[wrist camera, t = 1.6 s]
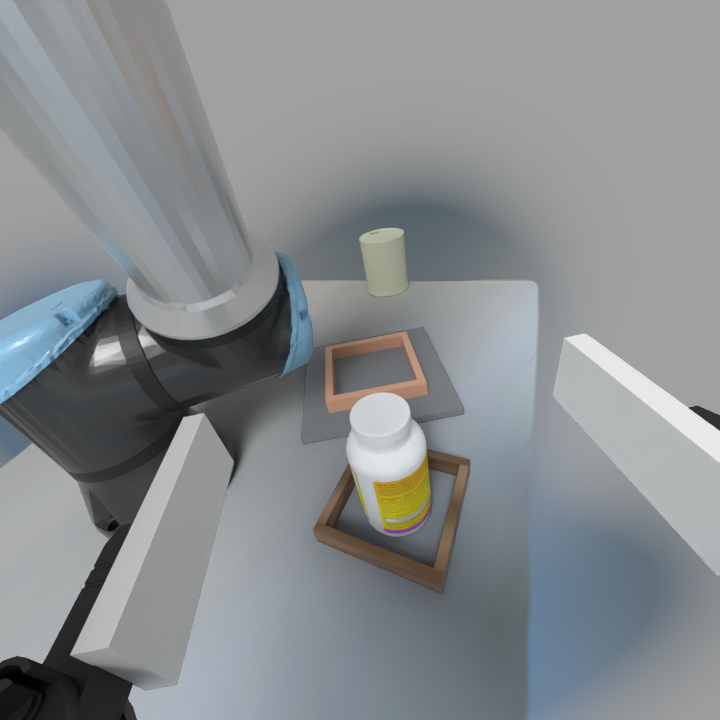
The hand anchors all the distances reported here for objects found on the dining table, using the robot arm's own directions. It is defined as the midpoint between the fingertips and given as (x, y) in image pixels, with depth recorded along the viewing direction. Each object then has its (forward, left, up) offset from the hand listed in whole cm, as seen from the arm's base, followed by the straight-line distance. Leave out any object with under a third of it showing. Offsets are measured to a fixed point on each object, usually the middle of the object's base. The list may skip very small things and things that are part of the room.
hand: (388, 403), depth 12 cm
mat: (-26, +12, -22) cm, 37 cm away
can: (-51, +32, -22) cm, 64 cm away
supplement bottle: (-8, +4, -22) cm, 24 cm away
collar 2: (-8, +4, -22) cm, 24 cm away
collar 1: (-26, +12, -22) cm, 37 cm away
